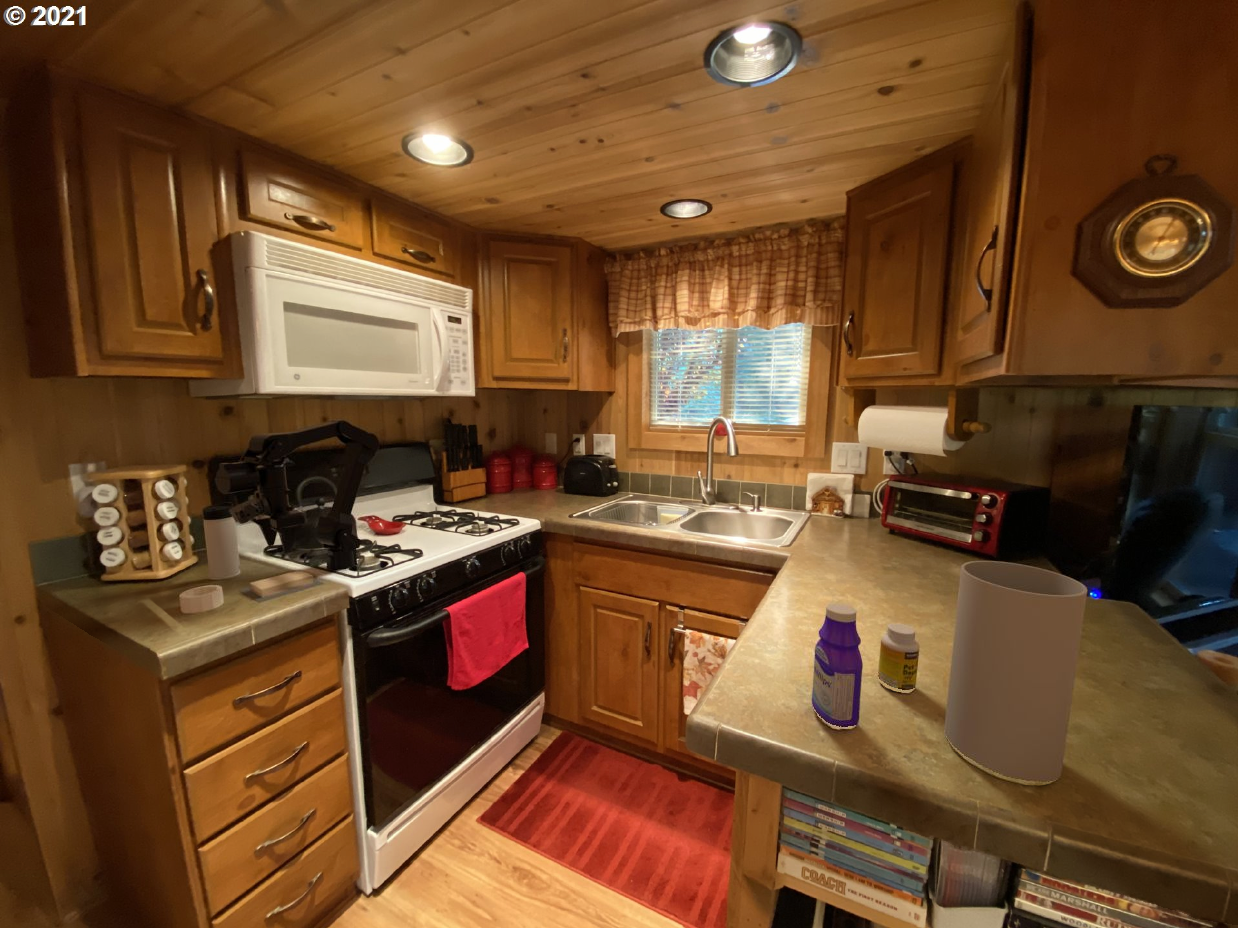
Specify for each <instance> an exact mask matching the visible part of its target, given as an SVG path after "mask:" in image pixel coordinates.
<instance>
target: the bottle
mask: <svg viewBox="0 0 1238 928" xmlns="http://www.w3.org/2000/svg"><path fill="white" fill-rule="evenodd" d="M818 636H819V639H818V641H817V642H816V643H815V647H814V657H813V658H814V660H813V662H814V663H813V673H812V674H813V677H812V691H811V696H812V697H811V704H812V708H813V707H814V709H815V710H816V712H817V713H818V714H819V716H821V718H823V719H824V720H825V721H826V722H828V723H830V724H832V725H836V726H839V727H840V726H841V727H848V726H854V725H857V726H858V724H859V722H860V711H861V693H862V680H863V679H862V678H863V667H864V666H863V664H864V663H863V659H862V658H863V657H862V654H861V651H860V647H859V646H860V645H861V642H862V640H861V637H860V635H859V633H858V630H857V609H856V608H854V607H853V606H850V605H848V604H845V603H840V602H831V603H828V604H827V605H826V606H825V617H824V622H823V624H822V626H821V628H820V629H819V631H818ZM814 709H813V710H814Z"/></svg>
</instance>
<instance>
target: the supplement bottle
mask: <svg viewBox="0 0 1238 928" xmlns="http://www.w3.org/2000/svg"><path fill="white" fill-rule="evenodd" d="M879 646H880V647H879V648H880V649H879V659H878V670H877V672H878V673H877V678H878V677H879V679H880V680H881V681H883V682H884V683H886V684H887V685H889V686H891V687H894V688H898V689H902V690H910V689H913V688H915V689H916V687H915V686H916V685H917V677H918V667H919V656H920V649H921V648H920V644H919V642H918V641H917V640H916V630H915V629H914V627H912V626H910V625H907V624H903V623H898V622H892V623H889V624H888V625H887V630H886V633H883V635H881V638H880V645H879Z"/></svg>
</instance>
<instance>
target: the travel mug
mask: <svg viewBox="0 0 1238 928" xmlns="http://www.w3.org/2000/svg"><path fill="white" fill-rule="evenodd" d="M233 507H234V504H233V502H232V501H225V502H223V503H216V504H211V505H208V506H206V507H203V508H202V515H203V517H202V518H203V528H204V539H205V546H206V547H205V548H206V555H207V564H208V574H209V580H210V581H221V580H222V581H223V580H228V579H232V578H235V577H238V576H240V574H241V567H240V566H241V564H240V554H239V545H238V544H239V543H238V537H237V536H238V535H237V526H236V525H237V523H236V521H235V520H234V518H233V517H232V515H231V513H230V512H229V509H231V508H233Z"/></svg>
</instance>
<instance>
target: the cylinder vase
mask: <svg viewBox="0 0 1238 928" xmlns="http://www.w3.org/2000/svg"><path fill="white" fill-rule="evenodd" d="M957 595H958V596H957V602H956V603H957V605H956V611H955V612H956V613H955V614H956V616H955V624H954V625H955V626H954V633H953V641H952V642H953V643H952V653H951V661H950V662H951V663H950V671H949V681H948V689H947V699H946V700H947V701H946V709H945V721H944V726H943V727H944V728H943V729H944V730H945V732H944V735H945V734H946V736H947V738H948V739H949V741H950V742H951V743H952V745H953V746H954V747H955V748H957V750H959V751H960V752H961V753H962V754H964V756H966V757H968V758H970V759H972V760H973V761H975V762H976V763H978V764H979V765H982V766H983V767H985V768H988V769H989V770H992V771H993V772H996V773H999V774H1002V775H1003V776H1006V777H1011V778H1015V779H1021V780H1026V781H1035V782H1036V781H1039V782H1040V781H1041V782H1047V781H1048V782H1049V781H1054V780H1056V779H1058V778H1060V777H1061V776H1062V771H1063V766H1064V765H1063V764H1064V759H1065V758H1064V757H1065V750H1066V742H1067V736H1068V729H1069V722H1070V714H1071V708H1072V703H1073V702H1072V701H1073V694H1074V686H1075V680H1076V672H1077V668H1078V667H1077V665H1078V659H1079V651H1080V646H1081V637H1082V631H1083V624H1084V618H1085V617H1084V616H1085V608H1086V603H1087V595H1088V588H1087V586H1085V585H1084V584H1083V583H1082V582H1080V581H1078V580H1076V579H1074V578H1072V577H1070V576H1066V575H1064V574H1061V573H1058V572H1055V571H1051V570H1048V569H1044V568H1040V567H1036V566H1031V565H1027V564H1026V565H1025V564H1020V563H1014V562H1006V561H998V560H997V561H995V560H973V561H968V562H965V563H963V564H961V566H960V575H959V584H958V594H957ZM946 736H945V737H946ZM1060 775H1061V776H1060ZM1058 780H1059V779H1058Z"/></svg>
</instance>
